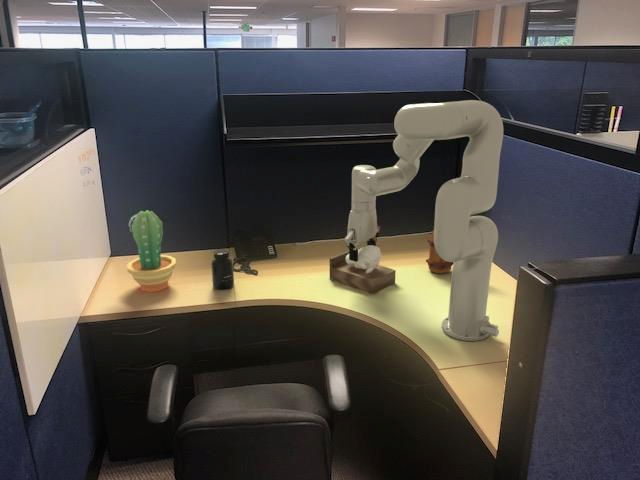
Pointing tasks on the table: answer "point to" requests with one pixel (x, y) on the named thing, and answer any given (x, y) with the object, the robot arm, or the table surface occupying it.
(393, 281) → the display ledge
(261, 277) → the table surface
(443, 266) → the mug
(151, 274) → the potted cactus
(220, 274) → the supplement bottle
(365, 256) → the white animal figurine
